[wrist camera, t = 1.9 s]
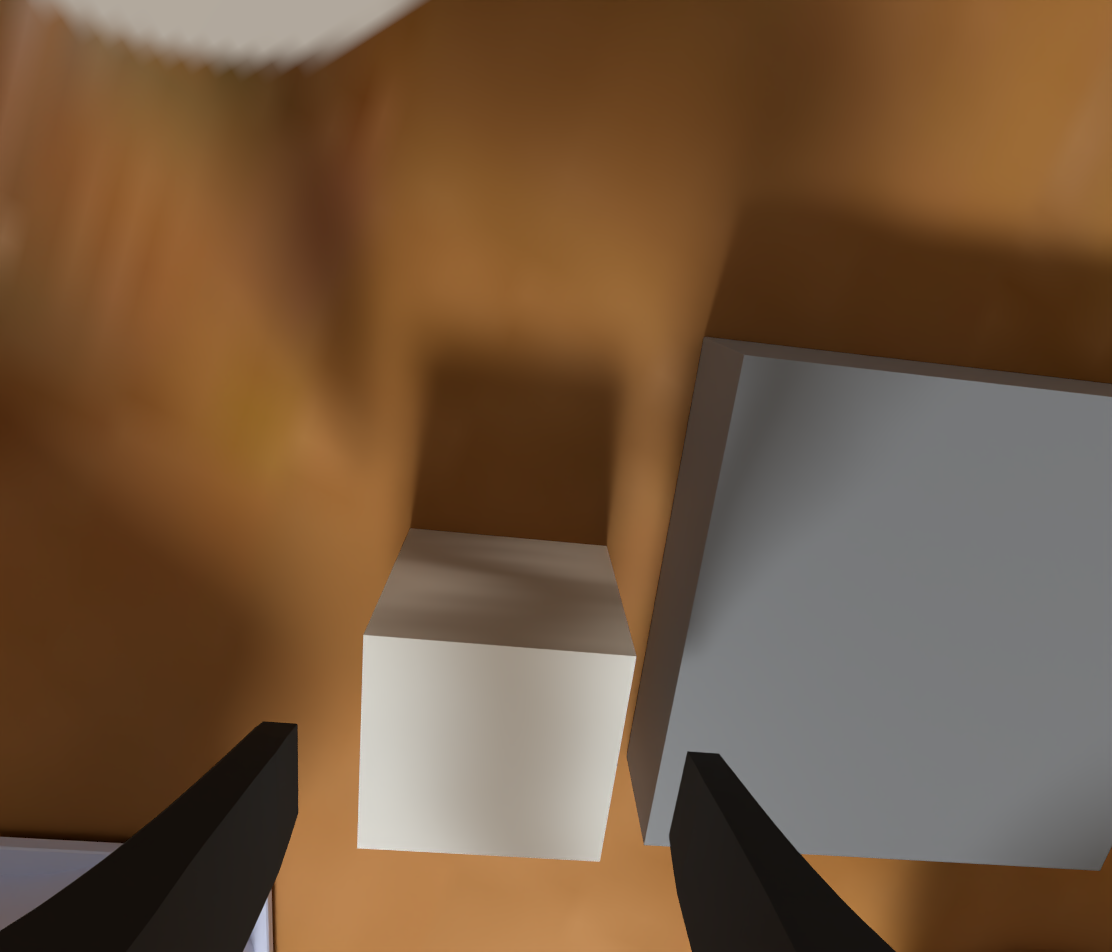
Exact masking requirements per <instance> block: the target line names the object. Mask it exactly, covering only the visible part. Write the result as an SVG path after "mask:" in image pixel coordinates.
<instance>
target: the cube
mask: <svg viewBox="0 0 1112 952" xmlns="http://www.w3.org/2000/svg"><path fill="white" fill-rule="evenodd" d="M635 662H636V653H635V649H634V646H633V642H632V638H631V634H630V631H629V627H628V623H627V620H626V616H625V612H624V608H623V605H622V601H621V597H620V594H619V590H618V586H617V583H616V579H615V575H614V571H613V568H612V564H611V560H610V557H609V553H608V549H607V546H601V545H590V544H579V543H568V542H557V541H546V540H535V539H524V538H513V537H502V536H491V535H480V534H469V533H458V532H446V531H435V530H424V529H413V528H410V530H409V532H408V534H407V537H406V539H405V541H404V543H403V546H402V548H401V550H400V553H399V555H398V557H397V559H396V562H395V564H394V566H393V569H392V571H391V573H390V575H389V578H388V580H387V582H386V585H385V587H384V589H383V591H382V594H381V596H380V598H379V601H378V603H377V605H376V608H375V610H374V612H373V614H372V617H371V619H370V621H369V624H368V626H367V628H366V630H365V633H364V636H363V670H362V705H361V739H360V774H359V808H358V843H357V848H363V849H382V850H400V851H418V852H436V853H454V854H472V855H491V856H509V857H527V858H545V859H563V860H582V861H600V857H601V851H602V846H603V840H604V835H605V829H606V824H607V818H608V812H609V807H610V801H611V796H612V790H613V784H614V779H615V773H616V768H617V762H618V757H619V751H620V745H621V740H622V734H623V729H624V723H625V717H626V712H627V706H628V701H629V695H630V690H631V684H632V678H633V673H634V667H635Z"/></svg>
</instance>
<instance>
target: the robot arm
mask: <svg viewBox="0 0 1112 952" xmlns="http://www.w3.org/2000/svg"><path fill="white" fill-rule="evenodd" d="M297 815H298V734H297V724H292V723H278V722H262V723H260V724H259V725H258V726H257V727H255V728H254V729H253V730H252V731H251V732H250V733H249V734H248V735H247V736H246V737H245V738H244V739H243V740H242V741H240V742H239V743H238V744H237V745H236V746H235V747H234V748H233V749H232V750H231V751H230V752H229V753H228V754H227V755H225V756H224V757H223V758H222V759H221V760H220V761H219V762H218V763H217V764H216V765H215V766H214V767H212V768H211V769H210V770H209V771H208V772H207V773H206V774H205V775H204V776H203V777H202V778H200V779H199V780H198V781H197V782H196V783H195V784H194V785H192V786H191V787H190V788H189V789H188V790H187V791H186V792H184V793H183V794H182V795H181V796H180V797H179V798H178V799H176V800H175V801H174V802H173V803H172V804H171V805H170V806H169V807H167V808H166V809H165V810H164V811H163V812H162V813H160V814H159V815H158V816H157V817H156V818H154V819H153V820H152V821H151V822H149V823H148V824H147V825H146V826H144V827H143V828H142V829H141V830H139V831H138V832H137V833H136V834H135V835H133V836H132V837H131V838H130V839H128V840H127V841H126V842H125V843H109V842H90V841H72V840H53V839H34V838H16V837H0V952H273V925H272V886H273V884H274V882H275V880H276V877H277V875H278V873H279V870H280V867H281V864H282V861H283V858H284V855H285V852H286V849H287V846H288V843H289V840H290V837H291V834H292V831H293V828H294V825H295V821H296V818H297ZM669 841H670V848H671V855H672V863H673V870H674V876H675V882H676V889H677V895H678V899H679V903H680V907H681V911H682V915H683V919H684V922H685V926H686V930H687V934H688V938H689V942H690V946H691V949H692V952H896V951H895V950H893V949H892V948H891V947H890V946H889V945H888V944H887V943H886V942H885V941H884V940H883V939H882V938H881V937H880V936H879V935H878V934H877V933H876V932H875V931H873V930H872V929H871V928H870V927H869V926H868V925H867V924H866V923H865V922H864V921H863V920H862V919H861V918H860V917H859V916H858V915H857V914H856V913H855V912H854V911H853V910H852V909H851V908H850V907H849V906H848V905H847V904H846V903H845V902H844V901H843V900H842V899H841V898H840V897H839V896H838V895H837V894H836V893H835V892H834V890H833V889H832V888H831V887H830V886H829V885H828V884H827V883H826V882H825V881H824V880H823V879H822V878H821V876H820V875H819V874H818V873H817V872H816V871H815V870H814V869H813V868H812V867H811V866H810V864H809V863H808V862H807V861H806V860H805V859H804V858H803V857H802V855H801V854H800V853H799V852H798V851H797V850H796V848H795V847H794V846H793V845H792V844H791V843H790V841H789V840H788V839H787V838H786V837H785V835H784V834H783V833H782V832H781V831H780V829H779V828H778V827H777V826H776V825H775V823H774V822H773V821H772V820H771V819H770V817H769V816H768V815H767V814H766V812H765V811H764V810H763V809H762V807H761V806H760V805H759V804H758V802H757V801H756V800H755V799H754V797H753V796H752V795H751V793H750V792H749V791H748V790H747V788H746V787H745V786H744V785H743V783H742V782H741V781H740V779H739V778H738V777H737V776H736V774H735V773H734V772H733V771H732V769H731V768H730V767H729V766H728V764H727V763H726V762H725V760H724V759H723V758H722V757H721V755H720V754H718V753H704V752H690V751H687V755H686V760H685V764H684V769H683V773H682V778H681V782H680V787H679V791H678V796H677V800H676V805H675V809H674V814H673V819H672V823H671V828H670V832H669Z"/></svg>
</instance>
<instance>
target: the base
mask: <svg viewBox="0 0 1112 952" xmlns="http://www.w3.org/2000/svg"><path fill="white" fill-rule="evenodd" d="M687 751H690V752H704V753H718V754H720V755H721V757H722V758H723V759H724V760H725V762H726V763H727V764H728V766H729V767H730V768H731V769H732V771H733V772H734V773H735V774H736V776H737V777H738V778H739V779H740V781H741V782H742V783H743V785H744V786H745V787H746V788H747V790H748V791H749V792H750V793H751V795H752V796H753V797H754V799H755V800H756V801H757V802H758V804H759V805H760V806H761V807H762V809H763V810H764V811H765V812H766V814H767V815H768V816H769V817H770V819H771V820H772V821H773V822H774V823H775V825H776V826H777V827H778V828H779V829H780V831H781V832H782V833H783V834H784V835H785V837H786V838H787V839H788V840H789V841H790V843H791V844H792V845H793V846H794V847H795V848H796V850H797V851H798V852H799V853H800V854H813V855H831V856H849V857H866V858H884V859H902V860H919V861H937V862H955V863H972V864H990V865H1008V866H1025V867H1043V868H1061V869H1078V870H1096V871H1100V869H1101V867H1102V865H1103V863H1104V861H1105V859H1106V857H1107V855H1108V853H1109V851H1110V849H1111V847H1112V384H1108V383H1100V382H1091V381H1082V380H1074V379H1065V378H1057V377H1048V376H1039V375H1031V374H1022V373H1013V372H1005V371H996V370H988V369H979V368H970V367H962V366H953V365H944V364H936V363H927V362H919V361H910V360H901V359H893V358H884V357H875V356H867V355H858V354H850V353H841V352H832V351H824V350H815V349H807V348H798V347H789V346H781V345H772V344H763V343H755V342H746V341H738V340H729V339H720V338H712V337H704V339H703V344H702V350H701V355H700V361H699V366H698V372H697V377H696V383H695V388H694V393H693V399H692V404H691V410H690V415H689V421H688V426H687V431H686V437H685V442H684V448H683V453H682V459H681V464H680V469H679V475H678V480H677V486H676V491H675V497H674V502H673V508H672V513H671V518H670V524H669V529H668V535H667V540H666V546H665V551H664V556H663V562H662V567H661V573H660V578H659V584H658V589H657V595H656V600H655V605H654V611H653V616H652V622H651V627H650V633H649V638H648V643H647V649H646V654H645V660H644V665H643V671H642V676H641V682H640V687H639V692H638V698H637V703H636V709H635V714H634V720H633V725H632V730H631V736H630V741H629V747H628V752H627V761H628V766H629V771H630V776H631V781H632V786H633V791H634V796H635V801H636V807H637V812H638V817H639V822H640V827H641V832H642V837H643V842H644V845H655V846H670V841H669V832H670V828H671V823H672V819H673V814H674V809H675V805H676V800H677V796H678V791H679V787H680V782H681V778H682V773H683V769H684V764H685V760H686V755H687Z"/></svg>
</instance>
